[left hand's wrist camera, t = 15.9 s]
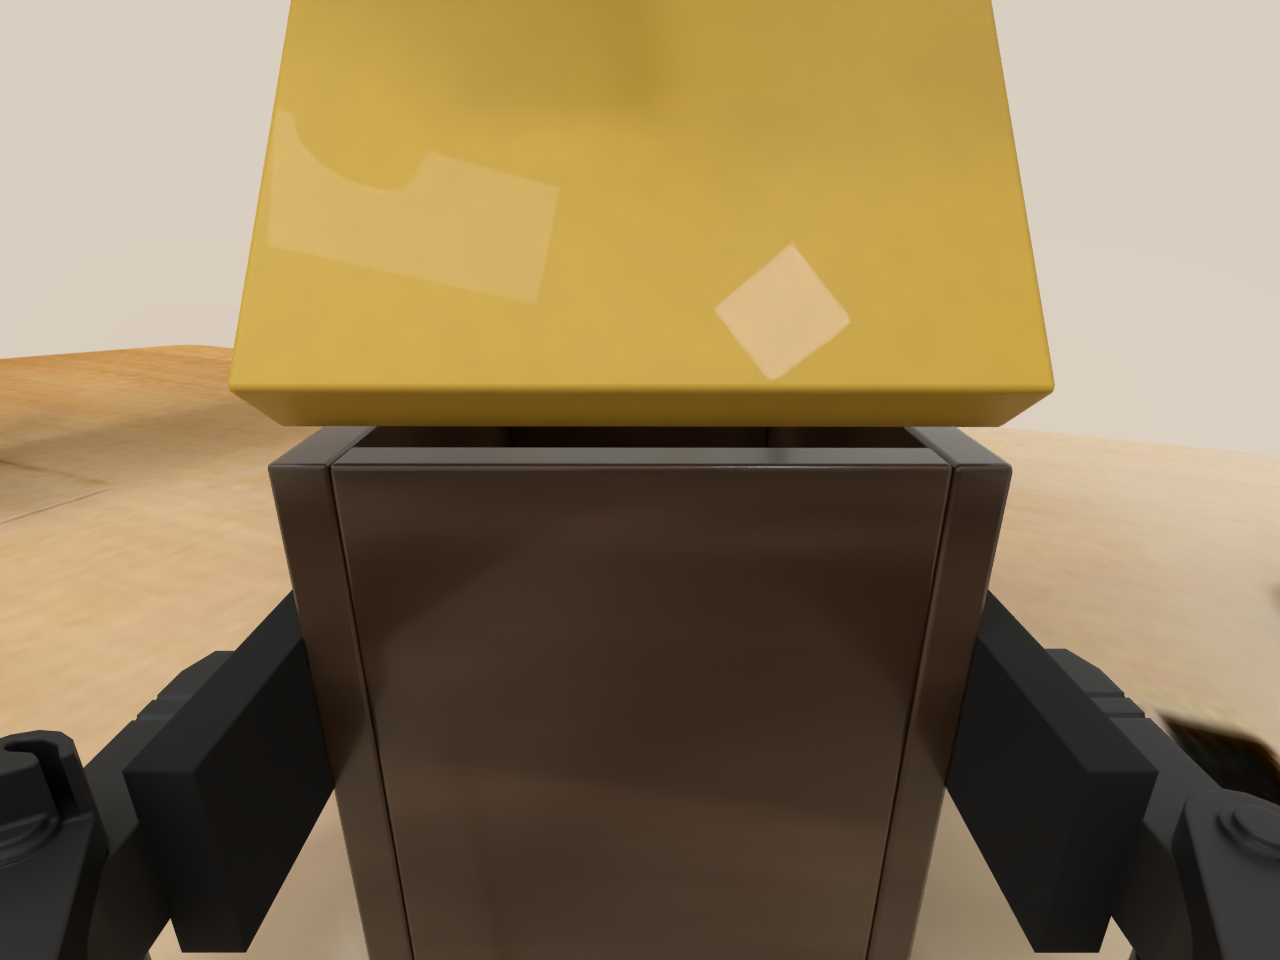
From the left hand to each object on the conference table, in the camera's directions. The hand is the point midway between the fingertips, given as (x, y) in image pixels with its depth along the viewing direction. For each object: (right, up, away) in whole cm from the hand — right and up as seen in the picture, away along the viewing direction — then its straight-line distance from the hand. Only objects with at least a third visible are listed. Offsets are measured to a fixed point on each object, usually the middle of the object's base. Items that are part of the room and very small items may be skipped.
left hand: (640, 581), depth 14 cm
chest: (0, -6, +5) cm, 7 cm away
